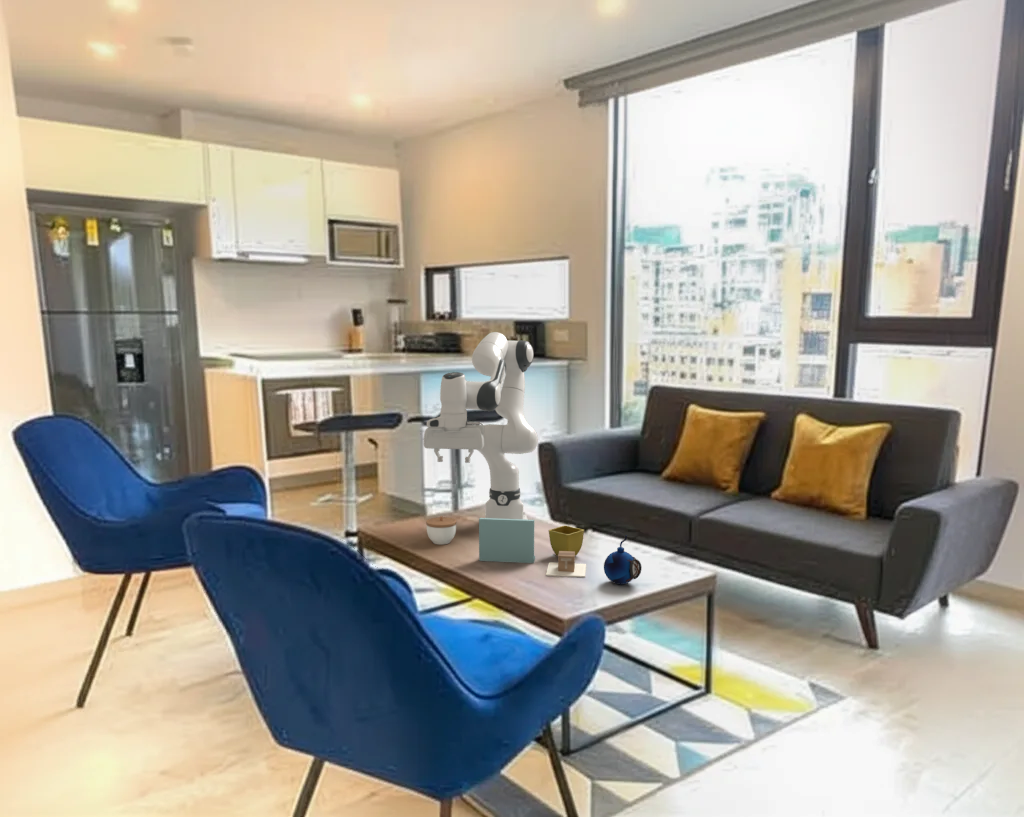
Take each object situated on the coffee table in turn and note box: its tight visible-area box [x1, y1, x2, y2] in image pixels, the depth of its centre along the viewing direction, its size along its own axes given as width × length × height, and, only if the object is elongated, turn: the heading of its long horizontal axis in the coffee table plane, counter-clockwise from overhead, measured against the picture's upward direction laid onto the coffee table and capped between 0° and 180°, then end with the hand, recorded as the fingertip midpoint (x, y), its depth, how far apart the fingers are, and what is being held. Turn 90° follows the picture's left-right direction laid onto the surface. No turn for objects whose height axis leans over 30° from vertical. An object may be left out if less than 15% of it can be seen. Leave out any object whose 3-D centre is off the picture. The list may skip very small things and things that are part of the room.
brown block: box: [557, 551, 576, 572], centre depth 231 cm, size 5×5×5 cm
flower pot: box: [548, 525, 585, 557], centre depth 246 cm, size 9×9×9 cm
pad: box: [545, 561, 587, 578], centre depth 231 cm, size 12×12×1 cm
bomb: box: [603, 535, 642, 585], centre depth 219 cm, size 10×11×15 cm
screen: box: [478, 517, 536, 564], centre depth 241 cm, size 5×18×14 cm, turn 83°
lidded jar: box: [425, 515, 457, 545], centre depth 262 cm, size 11×11×9 cm
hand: (453, 462), depth 247 cm, fingers open, 8 cm apart
